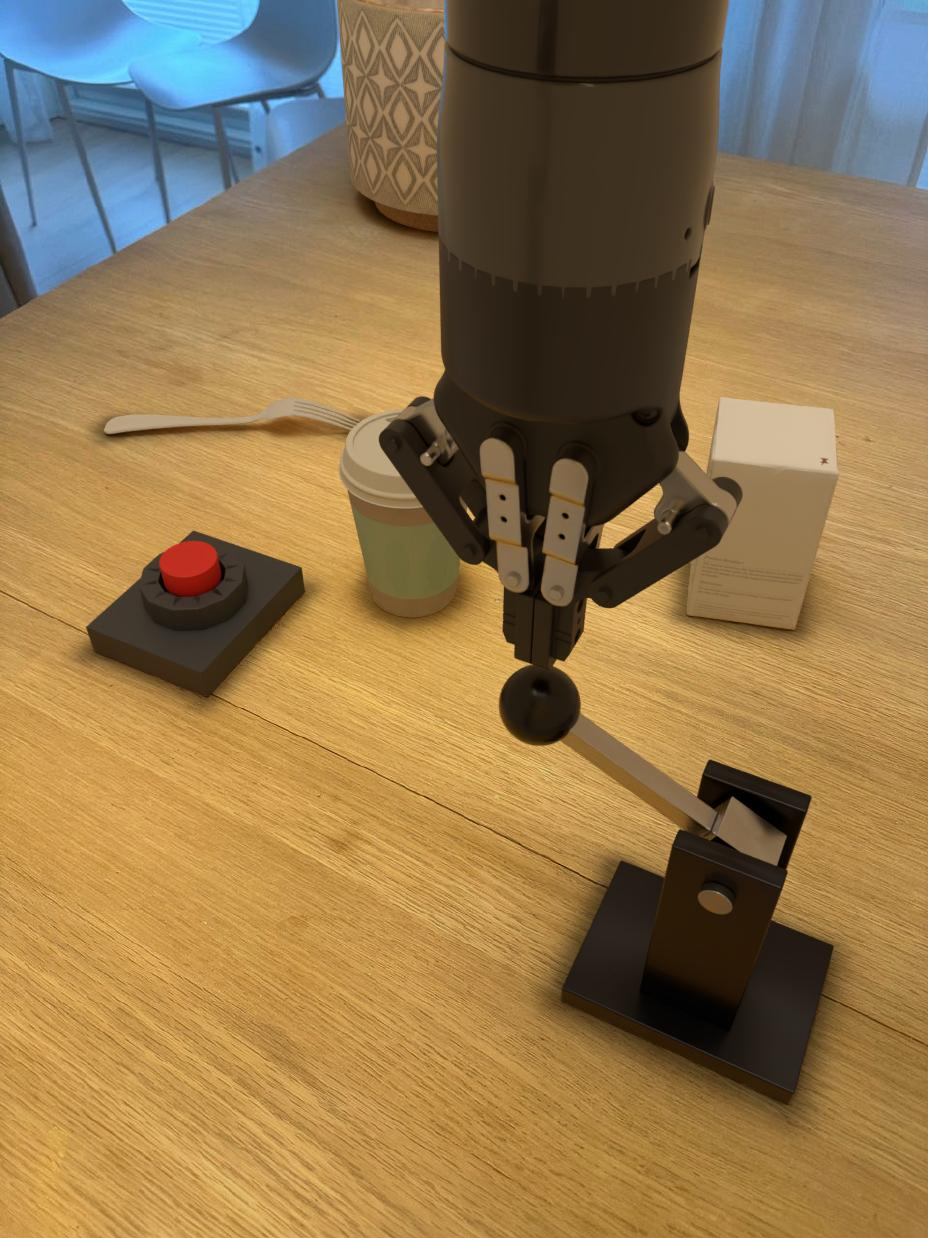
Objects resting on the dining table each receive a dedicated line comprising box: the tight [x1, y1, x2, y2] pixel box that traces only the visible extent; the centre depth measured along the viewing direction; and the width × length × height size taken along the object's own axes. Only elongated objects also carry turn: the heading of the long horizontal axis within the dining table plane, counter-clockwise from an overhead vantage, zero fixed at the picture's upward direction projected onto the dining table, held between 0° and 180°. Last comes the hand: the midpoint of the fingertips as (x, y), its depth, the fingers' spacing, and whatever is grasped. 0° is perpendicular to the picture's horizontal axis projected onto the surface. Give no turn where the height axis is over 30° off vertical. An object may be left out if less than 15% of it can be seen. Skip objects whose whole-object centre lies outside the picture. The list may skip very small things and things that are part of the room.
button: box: [159, 541, 221, 597], centre depth 67 cm, size 4×4×2 cm
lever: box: [498, 664, 787, 866], centre depth 44 cm, size 13×3×3 cm, turn 63°
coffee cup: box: [338, 408, 468, 618], centre depth 68 cm, size 9×8×12 cm
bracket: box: [560, 759, 835, 1105], centre depth 47 cm, size 11×8×13 cm
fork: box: [103, 396, 361, 435], centre depth 87 cm, size 3×21×3 cm, turn 90°
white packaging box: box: [686, 396, 840, 630], centre depth 68 cm, size 7×7×13 cm
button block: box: [85, 530, 306, 698], centre depth 68 cm, size 11×9×4 cm
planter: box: [336, 0, 445, 233], centre depth 115 cm, size 26×26×22 cm
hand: (542, 651), depth 42 cm, fingers closed
